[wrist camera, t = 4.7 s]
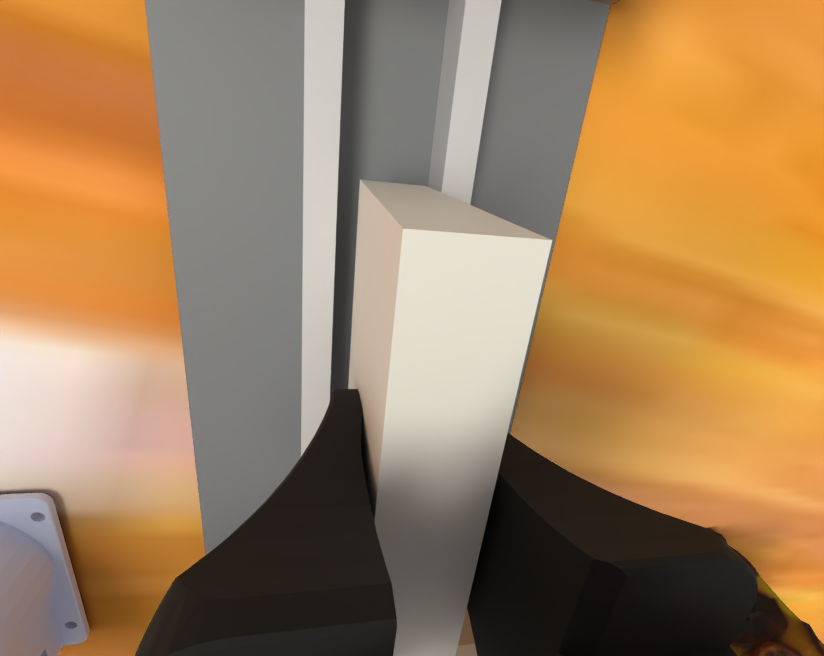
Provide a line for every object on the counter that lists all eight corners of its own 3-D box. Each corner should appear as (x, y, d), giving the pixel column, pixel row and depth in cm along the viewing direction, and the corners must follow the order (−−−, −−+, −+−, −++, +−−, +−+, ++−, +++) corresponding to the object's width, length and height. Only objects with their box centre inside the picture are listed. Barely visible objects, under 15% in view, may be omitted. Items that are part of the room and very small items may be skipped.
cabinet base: (474, 544, 24) (516, 658, 19) (213, 565, 21) (175, 708, 16) (605, -41, 14) (777, -156, 9) (141, -150, 11) (-32, -426, 6)
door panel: (391, 491, 17) (435, 739, 10) (342, 494, 17) (352, 754, 10) (426, 186, 13) (552, 240, 6) (359, 179, 12) (402, 228, 5)
